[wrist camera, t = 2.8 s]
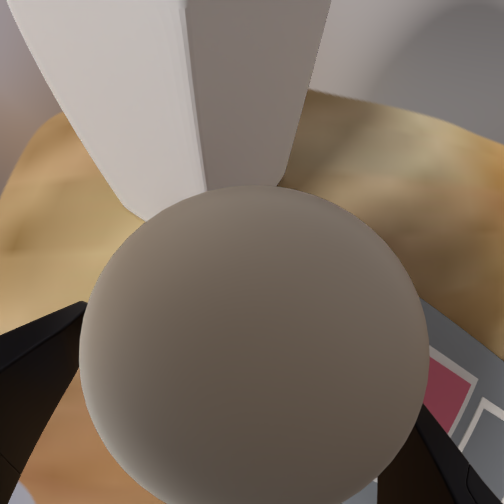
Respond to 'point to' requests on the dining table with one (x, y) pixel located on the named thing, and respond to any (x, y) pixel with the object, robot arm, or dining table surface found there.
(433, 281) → the dining table surface
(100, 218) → the dining table surface
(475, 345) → the stamping board
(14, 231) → the dining table surface
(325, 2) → the milk carton
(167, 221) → the walnut stamp
